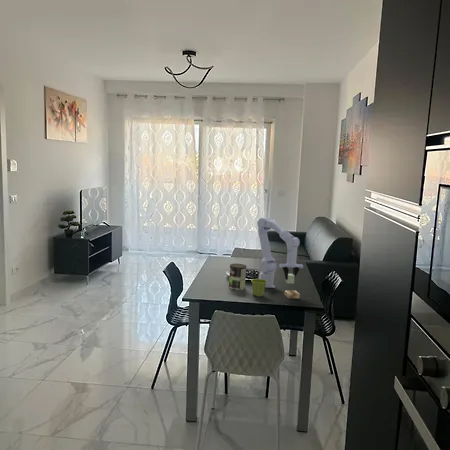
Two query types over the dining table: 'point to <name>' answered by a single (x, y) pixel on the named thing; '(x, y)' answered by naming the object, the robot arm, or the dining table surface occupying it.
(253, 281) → the plant pot
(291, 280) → the sage cube
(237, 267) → the coffee can
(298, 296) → the oak block
